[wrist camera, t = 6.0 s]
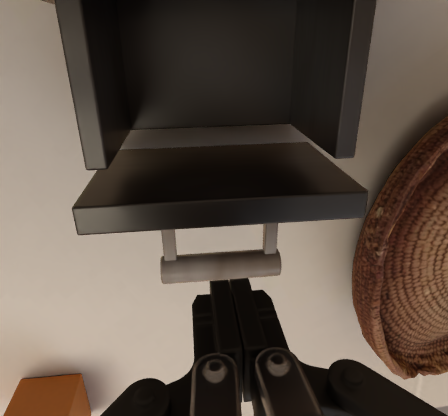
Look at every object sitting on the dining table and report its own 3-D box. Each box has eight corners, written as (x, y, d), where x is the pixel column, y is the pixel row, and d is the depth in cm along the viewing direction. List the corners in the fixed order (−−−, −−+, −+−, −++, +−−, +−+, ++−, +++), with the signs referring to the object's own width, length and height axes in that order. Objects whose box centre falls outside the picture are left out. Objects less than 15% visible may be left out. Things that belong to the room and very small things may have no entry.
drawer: (300, 227, 24) (350, 306, 16) (123, 238, 23) (96, 326, 16) (328, -103, 16) (437, -212, 9) (71, -107, 15) (-25, -233, 8)
